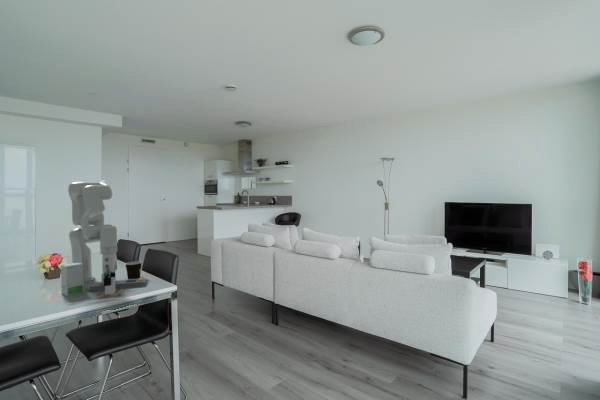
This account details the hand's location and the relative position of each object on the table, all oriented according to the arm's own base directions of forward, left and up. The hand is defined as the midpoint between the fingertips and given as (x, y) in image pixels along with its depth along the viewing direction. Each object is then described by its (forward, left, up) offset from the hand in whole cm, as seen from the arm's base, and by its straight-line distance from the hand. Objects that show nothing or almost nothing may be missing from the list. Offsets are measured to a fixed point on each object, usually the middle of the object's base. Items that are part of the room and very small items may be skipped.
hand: (109, 282), depth 164 cm
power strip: (+2, +12, -6) cm, 14 cm away
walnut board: (0, 0, -6) cm, 6 cm away
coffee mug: (+8, +28, -6) cm, 30 cm away
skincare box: (-19, +9, -6) cm, 22 cm away
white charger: (0, 0, -6) cm, 6 cm away
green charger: (-4, +12, -6) cm, 14 cm away
